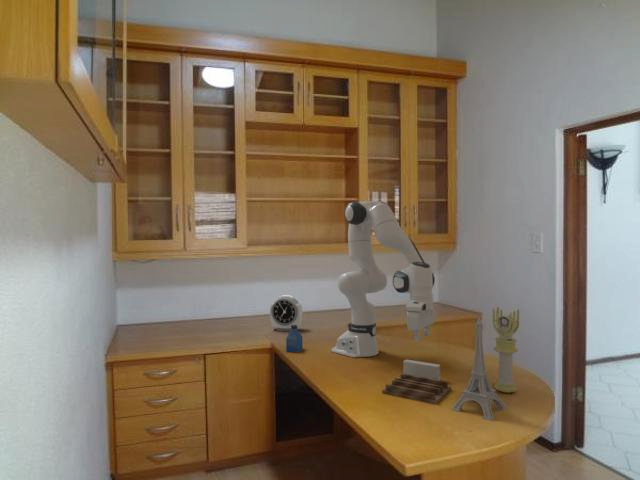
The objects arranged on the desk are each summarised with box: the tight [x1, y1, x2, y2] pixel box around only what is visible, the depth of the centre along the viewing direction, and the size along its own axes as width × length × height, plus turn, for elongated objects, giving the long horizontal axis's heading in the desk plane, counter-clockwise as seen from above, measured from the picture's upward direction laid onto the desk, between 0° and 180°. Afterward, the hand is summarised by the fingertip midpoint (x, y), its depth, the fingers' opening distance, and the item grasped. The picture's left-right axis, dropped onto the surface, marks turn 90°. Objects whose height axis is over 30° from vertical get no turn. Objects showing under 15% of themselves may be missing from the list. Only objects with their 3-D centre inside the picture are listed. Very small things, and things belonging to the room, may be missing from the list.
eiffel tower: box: [450, 317, 508, 422], centre depth 150 cm, size 13×13×30 cm
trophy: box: [492, 306, 520, 394], centre depth 165 cm, size 8×8×30 cm
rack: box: [381, 373, 452, 405], centre depth 166 cm, size 20×16×3 cm
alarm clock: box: [269, 294, 303, 332], centre depth 265 cm, size 18×8×20 cm, turn 76°
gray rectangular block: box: [402, 359, 441, 380], centre depth 181 cm, size 14×3×6 cm, turn 57°
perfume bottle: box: [285, 325, 303, 353], centre depth 223 cm, size 6×6×12 cm
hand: (422, 338), depth 180 cm, fingers open, 8 cm apart
